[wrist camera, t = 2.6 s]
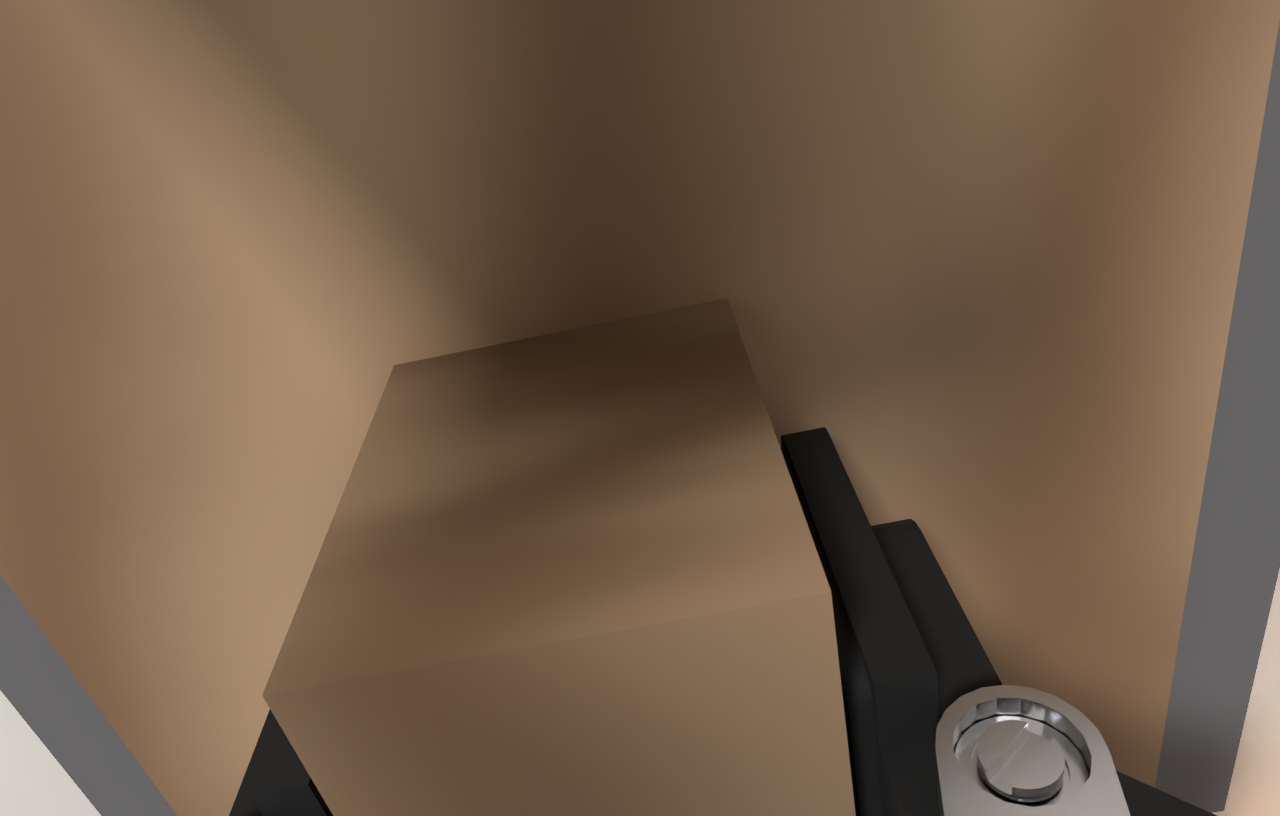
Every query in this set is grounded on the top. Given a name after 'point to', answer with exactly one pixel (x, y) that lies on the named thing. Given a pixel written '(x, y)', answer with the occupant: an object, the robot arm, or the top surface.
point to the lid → (601, 371)
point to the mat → (1213, 612)
